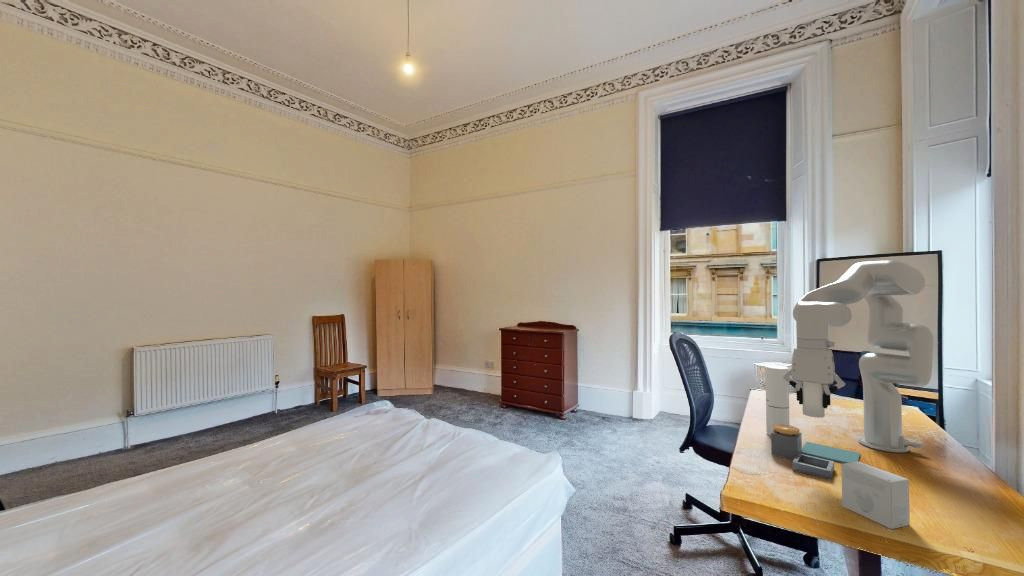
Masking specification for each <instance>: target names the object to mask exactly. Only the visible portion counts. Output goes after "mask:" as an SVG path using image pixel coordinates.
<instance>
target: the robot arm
mask: <svg viewBox="0 0 1024 576" xmlns="http://www.w3.org/2000/svg"><path fill="white" fill-rule="evenodd" d="M925 287H926V278H925V276H924V275H923V273H922V272H921V271H920V270H918V269H917V268H915V267H914V266H912V265H910V264H908V263H905V262H903V261H899V260H895V259H887V260H885V259H883V260H869V261H867V260H866V261H861V262H860V261H859V262H856V263H854V264H852V265H851V266H850V267H849V268H848V269H846V271H845V272H844V273H843V274H842V275H841V276H840V277H839V278H837V280H836V281H835V282H833V283H828V284H826V285H823V286H821V287H818V288H816V289H814V290H811V291H809V292H807V293H806V294H804V295H803V296H802V297H801V298H800V299H799V300H798V301H797V302H796V304H795V305H794V307H793V310H792V317H793V319H794V321H795V324H796V325H795V329H796V331H795V332H796V333H795V335H796V346H795V347H794V349H793V353H792V359H791V369H789V372H787V373H786V374H785V375H784V376H783V379H785V380H786V381H787V382H789V386H791V387H793V388H794V390H795V391H796V401H798V404H799V405H803V402H802V383H803V382H804V381H805V382H813V383H820V384H822V386H823V388H824V394H823V408H824V409H825V410H826V409H828V406H831V394H833V393H834V392H836V391H837V390H839V389H841V388H843V387H845V386H846V382H845V381H844V380H843V379H841V377H840V376H839V375H837V373H836V371H835V369H836V367H835V360H834V359H835V358H834V354H833V349H832V350H831V349H829V348H831V347H835V346H836V344H835V342H834V341H830V340H829V328H842V327H844V326H847V325H848V324H849V323H850V322H851V320H852V310H851V309H850V307H849V306H848V305H851V304H855V303H858V302H860V301H861V300H863V299H865V301H866V303H867V305H868V310H869V311H868V312H869V313H868V324H867V342H868V344H869V346H871V347H872V348H875V349H880V350H887V351H897V352H907V353H908V354H909V355H902V354H895V353H882V352H868V353H865V354H863V355H862V356H861V357H860V358H859V359H858V360H859V361H858V368H859V371H860V376H861V380H862V392H863V393H862V394H863V401H862V402H863V435H861V436H858V440H857V441H858V443H860V444H861V445H863V446H865V447H868V448H871V449H874V450H879V451H882V452H887V453H888V452H889V453H896V454H898V453H899V454H901V453H902V454H904V453H907V452H909V451H910V447H913V448H917V449H923V442H920V441H917V440H916V439H909V438H907V437H905V436H904V433H903V417H902V416H903V409H902V408H903V407H902V395H901V393H900V391H899V390H898V388H897V387H896V386H895V385H894V384H898V385H903V386H910V387H916V388H917V387H918V388H921V387H926V386H928V384H929V383H930V382H931V378H932V373H933V372H932V371H933V369H932V368H933V358H934V335H933V332H932V331H931V329H930V328H929V327H928V326H927V325H924V324H922V323H913V322H912V323H911V322H904V320H903V318H904V308H903V306H902V305H901V304H900V302H899V301H898V300H897V299H896V298H895V297H893V296H915V295H918V294H920V293H921V292H922V291H923V290H924V289H925ZM834 382H836V384H834ZM830 385H833V386H830Z"/></svg>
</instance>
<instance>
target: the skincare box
mask: <svg viewBox="0 0 1024 576" xmlns="http://www.w3.org/2000/svg"><path fill="white" fill-rule="evenodd" d="M840 464H841V466H840V467H841V506H842V508H845V509H847V510H850V511H853V512H854V513H856V514H858V515H860V516H862V517H865V518H867V519H869V520H871V521H873V522H875V523H877V524H879V525H882V526H884V527H886V528H888V529H890V530H893V529H894V530H895V529H898V528H902V527H906V526H909V525H911V522H910V521H911V520H910V518H911V517H910V479H909V478H906V477H903V476H900V475H897V474H894V473H893V472H889V471H886V470H883V469H880V468H877V467H876V466H872V465H869V464H866V463H865V462H861V461H858V462H851V463H840Z"/></svg>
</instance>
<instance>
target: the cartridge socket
mask: <svg viewBox="0 0 1024 576" xmlns="http://www.w3.org/2000/svg"><path fill="white" fill-rule="evenodd" d="M791 462H792V471H793V472H794V471H795V472H798V473H801V474H804V475H805V474H806V475H808V476H809V475H810V476H813V477H816V478H820V479H826V480H829V481H831V480H832V477H833V475H834V472H835V461H831V460H827V459H822V458H818V457H814V456H809V455H805V454H800V453H798V454H797V456H796V457H795V459H794V460H792V461H791Z"/></svg>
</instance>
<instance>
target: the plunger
mask: <svg viewBox="0 0 1024 576" xmlns="http://www.w3.org/2000/svg"><path fill="white" fill-rule="evenodd" d="M773 429H774V430H775V431H777V432H779V433H780V434H784V435H789V436H793V435H797V434H800V433H801V432H800V428H798V427H797V426H793V425H784V424H776V425H774V426H773Z"/></svg>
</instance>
